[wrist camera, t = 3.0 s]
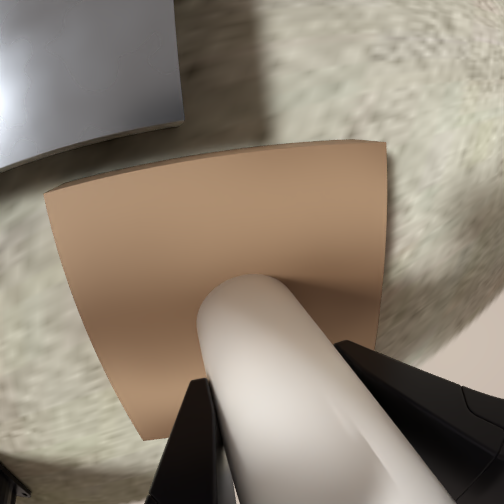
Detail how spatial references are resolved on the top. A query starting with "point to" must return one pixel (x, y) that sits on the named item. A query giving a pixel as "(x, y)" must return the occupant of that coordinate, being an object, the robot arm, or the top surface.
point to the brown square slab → (218, 254)
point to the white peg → (299, 407)
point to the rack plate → (84, 74)
